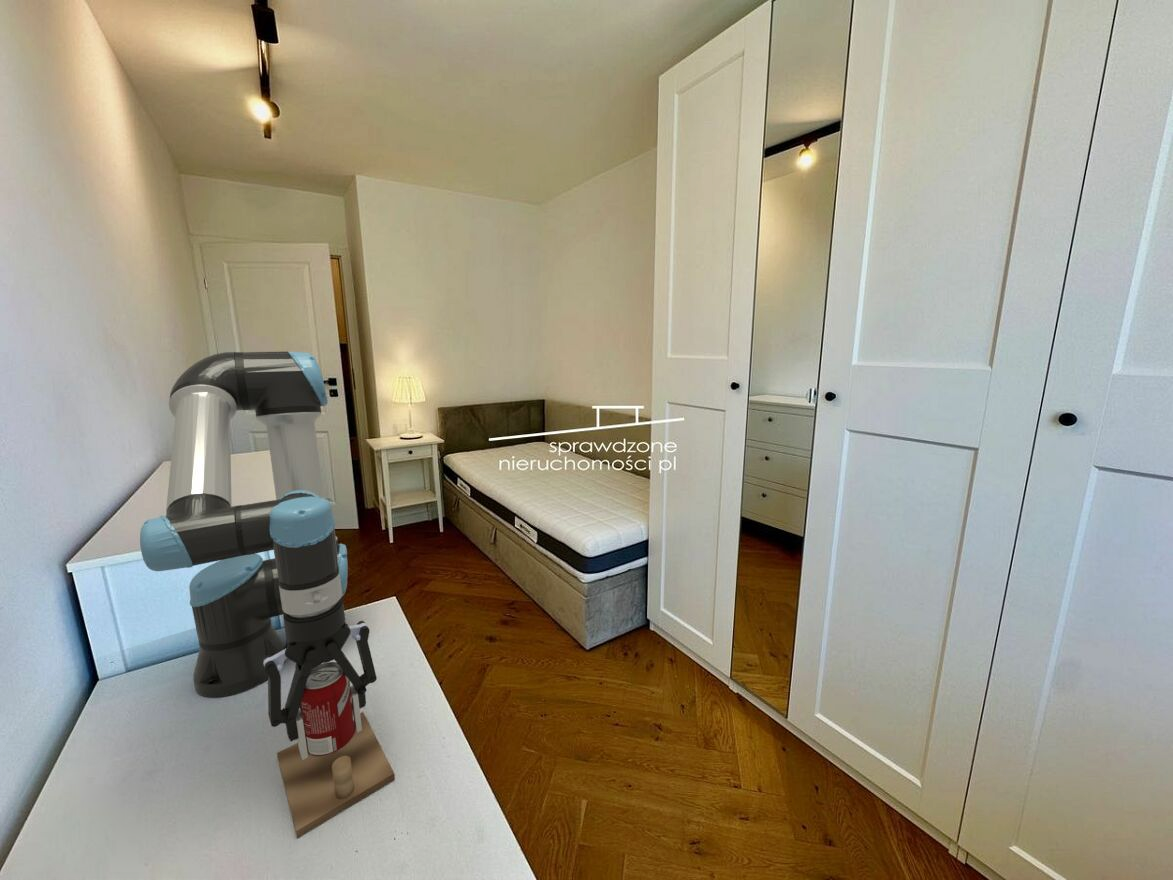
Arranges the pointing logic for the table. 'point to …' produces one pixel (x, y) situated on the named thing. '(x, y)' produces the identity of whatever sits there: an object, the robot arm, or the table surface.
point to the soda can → (327, 710)
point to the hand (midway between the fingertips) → (331, 738)
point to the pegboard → (333, 778)
